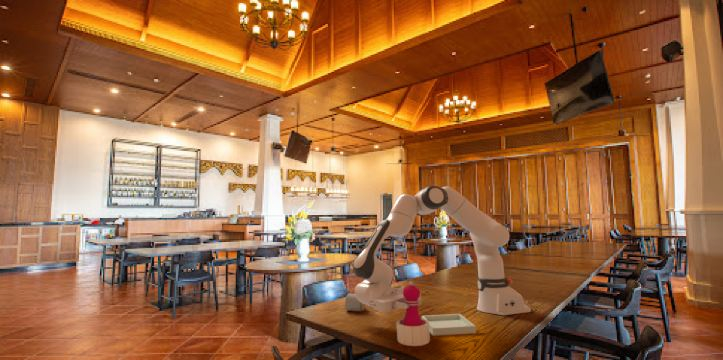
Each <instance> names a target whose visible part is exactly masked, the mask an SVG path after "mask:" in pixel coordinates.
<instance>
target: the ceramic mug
mask: <svg viewBox="0 0 723 360" xmlns="http://www.w3.org/2000/svg"><path fill="white" fill-rule="evenodd" d="M344 301H345V303H344V304H345V305H344V306H345V310H346V311H347V312H348V311H349V312H364V310H365V309H366V305H365V304H362V303H361V302H359V301H358V300H357V298H356V296H355V293H347V294H346V297H345V300H344Z"/></svg>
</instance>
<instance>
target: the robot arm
mask: <svg viewBox="0 0 723 360" xmlns="http://www.w3.org/2000/svg"><path fill="white" fill-rule="evenodd" d="M438 209H440V210H442V211H444V212H445V214H446V215H448V217H450V218H451V219H452V220H453V221H455V222H456V223H457V224H458V225H459V227H461V228H463V229H465V230H466V231H468V232H469V237H470V239H471V241H472V244H473V248H474V252H475V255H476V262H477V273H478V276H477V289H478V301H477V305H476V309H477V311H479V312H482V313H487V314H495V315H500V316H509V315H515V314H516V315H517V314H524V313H525V314H526V313H530V312H532V310H531V307H529V305H528V306H527V305H526V304H525V300H524V298H523V296H522V295H521V294H520V293H519V292H518V291H516V290H515V289H513V288H512V287H511V286H510V285H513V283H514V280H513V279H511V278H506V277H505V270H504V259H503V257H502V256H501V253H500V251H499V248H501V247H504V246H505V245H506V244H508V242H509V240H510V232H509V230H508V228H507V227H506V226H505V225H502V224H501V223H499V222H497V221H496V220H495V219H494V218H492V217H490V215H487V214H486V213H485V212H483V211H481V210H480V209H479V208H478V207H476V206H475V205H474V204H473V203H472V202H471V201H470V200H468V198H466V197H465V196H464V195H462V194H461V193H460V192H458V191H457V190H455V189H454V188H452V187H450V186H447V185H445V186H443V187H440V186H438V185H429V186H428V185H427V186H426V187H424V188H423V189H421V190H419V191H418V192H417V193H416V194H415V195H411V194H408V193H402V194H400V195H399V196H398V198H397V199H396V201H395V202H394V204H393V206H392V208H391V210H390V212H389V214H388V216H387V218H385V219H382V220H381V221H380V222H379V223H378V224H377V225H376V226H375V228H374V229H373V231H372V233H371V235H370V236H369V238H368V240H367V241H366V243H365V245H364V246H363V248H362V249H361V251H360V252H359V253H358V254H357V256H356V257H355V258H354V260H353V264H352V268H353V272H354V274H355V275H354V276H355V277H358V278H360V279H362V280H363V281H361V282H359V283H358V284H357V285H355V288H354V294H355V296H356V298H357V300H358V301H359V302H361V303H362V304H365V306H368V307H372V308H373V309H374V310H375V311H378V312H381V313H388V312H392V311H395V310H399V309H401V310H402V309H403V310H406V309H408V308H409V304H408V303H405V297H404V296H403V290H404V288H405V286H400V285H399V286H392V284H393V282H394V281H393V280H394V275H395V274H394V269H393V267H392V266H390V265H389V264H387V263H385V262H384V261H382V260H380V259H379V258H377V252H378V251H379V249H380V247H381V246H382V244H383V242H384V240H385V239H386V238H388V237H393V238H394V237H395V238H401V237H406V236H407V235H408V234H409V233H410V231H411V229H413V228H412V227H413V225H414V222H415V220H416V216H419V217H424V216H427V215H430V214H433V213H434V212H435V211H437V210H438ZM418 300H419V304H418V307H419V306H421V305H422V294H421V292H420V296H419V298H418Z"/></svg>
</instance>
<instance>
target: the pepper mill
mask: <svg viewBox="0 0 723 360" xmlns="http://www.w3.org/2000/svg"><path fill="white" fill-rule="evenodd" d="M420 293H421V291H420V289H419V287H417V286H416V285H415V284H414V282H413V280H410V281H409V282H408V285H406V286H404V290H403V296H404V297H405V303H408V304H409V308H408V309H405V310H406V311H405V315H404V317H403V318H404V321H403V325H405V326H421V325H423V323H422V320H421V318H422V317H421V315H420V313H419V312H420V311H419V306H418V304H419V300H418V298H419V296H420Z"/></svg>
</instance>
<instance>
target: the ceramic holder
mask: <svg viewBox="0 0 723 360" xmlns="http://www.w3.org/2000/svg"><path fill="white" fill-rule="evenodd" d="M404 318H405V317H403V318H398V320H396V340H397V342H398V343H399V344H401V345H404V346H408V347H409V346H410V347H420V346H425V345H427V344H429V343H430V341H431V336H430V335H431V332H430V331H429V322H428V321H427V320H425V319H422V317H420V318H421V320H422V323H423V325H421V326H405V325H403V321H404Z"/></svg>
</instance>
